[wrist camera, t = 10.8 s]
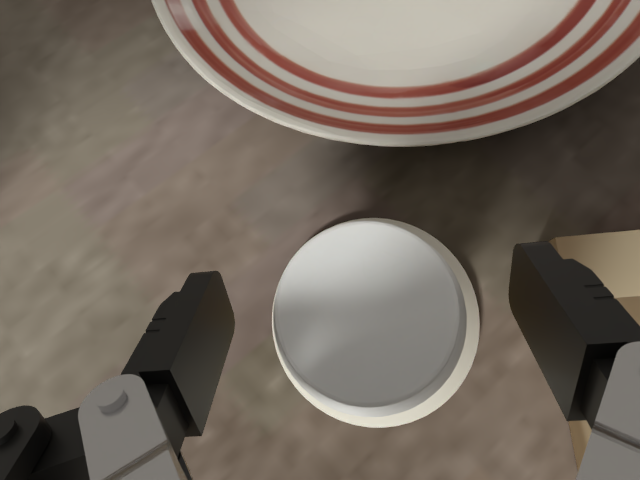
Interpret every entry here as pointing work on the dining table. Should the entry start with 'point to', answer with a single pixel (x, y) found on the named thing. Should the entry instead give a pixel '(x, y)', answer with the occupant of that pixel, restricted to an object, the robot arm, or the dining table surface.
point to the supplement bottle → (369, 319)
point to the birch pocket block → (616, 274)
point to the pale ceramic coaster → (458, 372)
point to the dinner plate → (405, 61)
